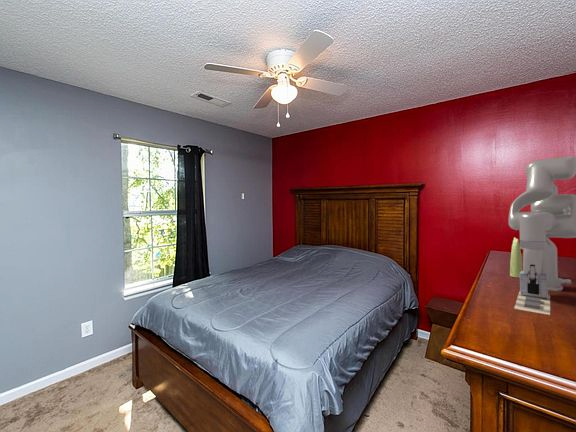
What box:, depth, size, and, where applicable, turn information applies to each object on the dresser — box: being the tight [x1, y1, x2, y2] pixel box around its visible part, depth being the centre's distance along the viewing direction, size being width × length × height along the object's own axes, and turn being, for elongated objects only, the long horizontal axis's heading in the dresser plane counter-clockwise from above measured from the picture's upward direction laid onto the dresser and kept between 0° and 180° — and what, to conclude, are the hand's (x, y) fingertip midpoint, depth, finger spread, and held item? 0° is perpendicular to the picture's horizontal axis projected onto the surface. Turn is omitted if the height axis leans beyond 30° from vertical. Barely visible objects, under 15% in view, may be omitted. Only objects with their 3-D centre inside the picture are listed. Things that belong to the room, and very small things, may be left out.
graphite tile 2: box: [525, 296, 541, 303], centre depth 100 cm, size 4×4×1 cm
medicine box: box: [519, 271, 549, 298], centre depth 105 cm, size 8×4×9 cm, turn 46°
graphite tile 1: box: [524, 301, 540, 309], centre depth 95 cm, size 4×4×1 cm
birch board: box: [513, 290, 551, 316], centre depth 100 cm, size 24×9×2 cm, turn 136°
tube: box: [509, 237, 523, 279], centre depth 136 cm, size 6×5×20 cm
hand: (533, 291), depth 105 cm, fingers closed on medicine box, 4 cm apart
